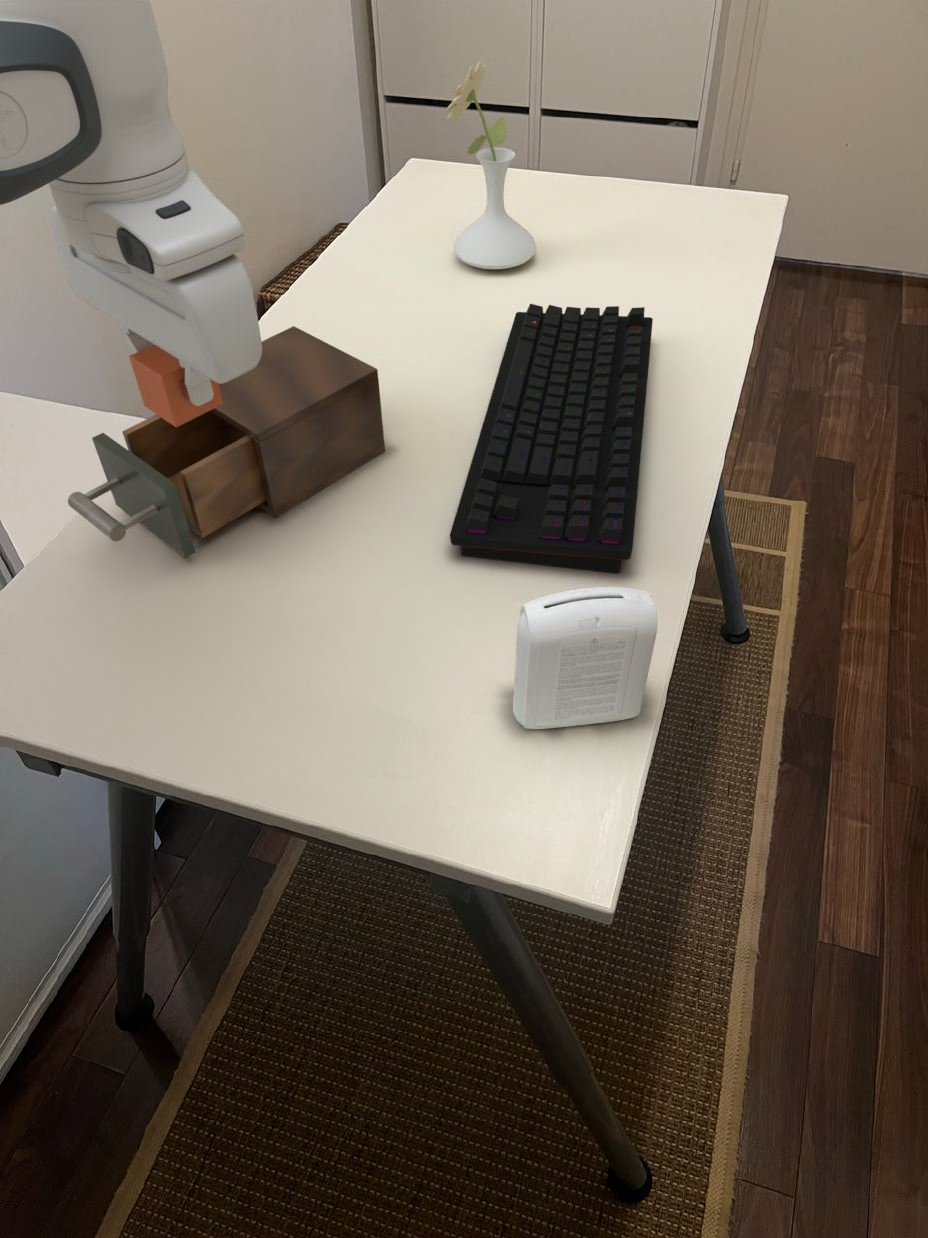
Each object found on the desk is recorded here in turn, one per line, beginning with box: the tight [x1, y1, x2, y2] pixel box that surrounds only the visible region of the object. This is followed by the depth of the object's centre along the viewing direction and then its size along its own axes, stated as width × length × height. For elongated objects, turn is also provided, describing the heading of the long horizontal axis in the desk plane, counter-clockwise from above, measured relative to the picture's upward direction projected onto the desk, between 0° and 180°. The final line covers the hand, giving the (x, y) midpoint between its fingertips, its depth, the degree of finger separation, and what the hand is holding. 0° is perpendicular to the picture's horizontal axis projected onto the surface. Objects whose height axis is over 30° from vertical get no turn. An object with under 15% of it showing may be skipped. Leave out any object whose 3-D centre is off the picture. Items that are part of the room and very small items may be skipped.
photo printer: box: [512, 586, 658, 730], centre depth 69 cm, size 10×4×12 cm, turn 98°
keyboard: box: [449, 303, 654, 574], centre depth 97 cm, size 42×16×5 cm, turn 169°
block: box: [128, 345, 223, 427], centre depth 71 cm, size 4×4×4 cm
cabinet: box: [210, 325, 386, 519], centre depth 93 cm, size 15×13×10 cm
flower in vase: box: [446, 59, 537, 270], centre depth 119 cm, size 13×11×25 cm
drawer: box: [67, 411, 267, 559], centre depth 87 cm, size 19×12×8 cm, turn 137°
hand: (178, 386), depth 71 cm, fingers closed on block, 4 cm apart
